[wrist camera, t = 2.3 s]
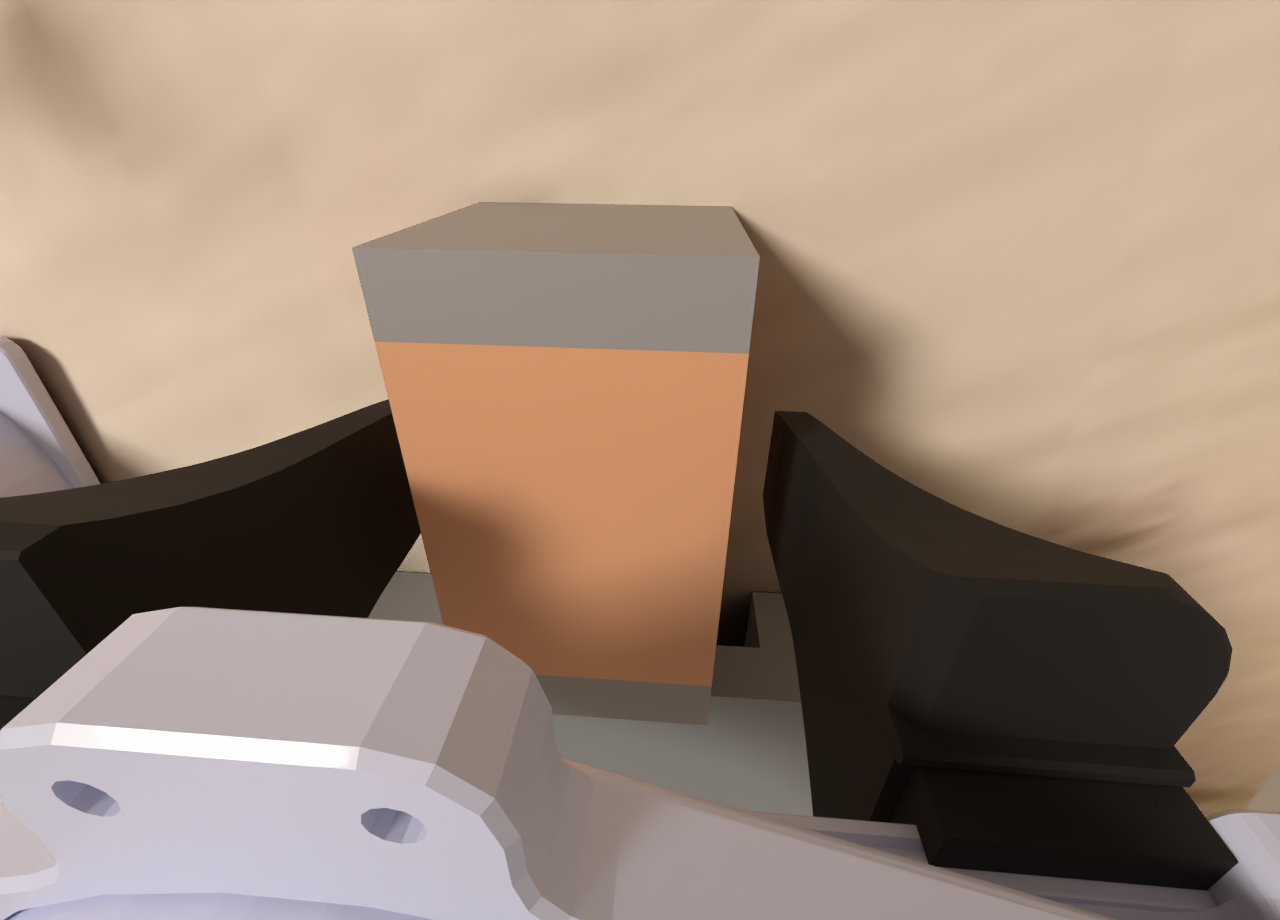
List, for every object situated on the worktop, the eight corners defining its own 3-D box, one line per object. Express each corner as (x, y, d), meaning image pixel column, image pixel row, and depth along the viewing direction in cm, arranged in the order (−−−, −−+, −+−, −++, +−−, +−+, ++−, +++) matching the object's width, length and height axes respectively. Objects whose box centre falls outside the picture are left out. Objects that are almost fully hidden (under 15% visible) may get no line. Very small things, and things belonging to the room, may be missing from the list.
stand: (432, 751, 21) (389, 854, 18) (376, 570, 17) (307, 668, 14) (808, 779, 20) (829, 892, 17) (860, 598, 16) (901, 708, 13)
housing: (701, 560, 16) (707, 725, 11) (524, 550, 16) (463, 708, 12) (731, 206, 11) (759, 256, 7) (480, 201, 11) (351, 247, 7)
